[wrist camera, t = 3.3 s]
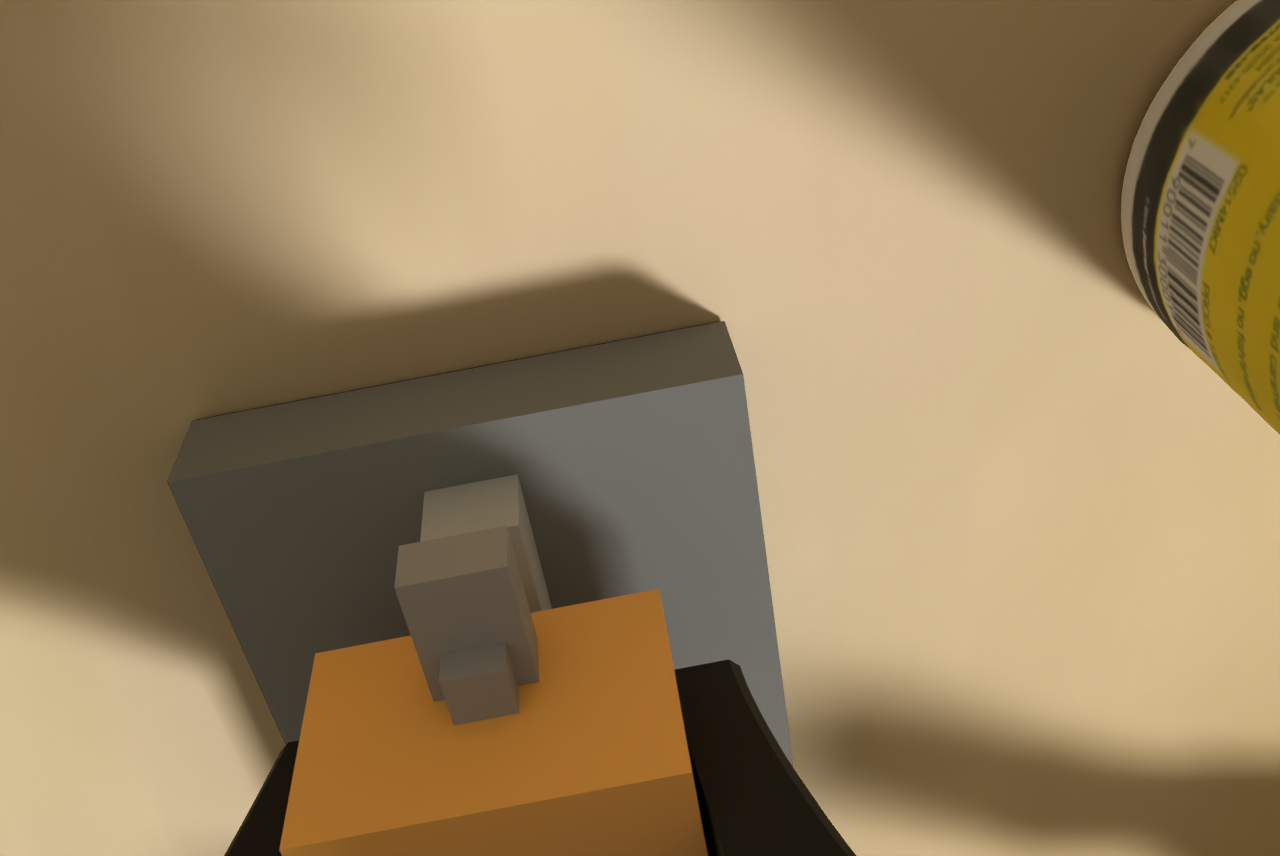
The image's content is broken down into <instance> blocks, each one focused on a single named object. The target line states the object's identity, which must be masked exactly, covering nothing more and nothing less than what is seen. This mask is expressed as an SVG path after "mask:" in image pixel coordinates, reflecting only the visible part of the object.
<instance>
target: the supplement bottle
mask: <svg viewBox="0 0 1280 856" xmlns="http://www.w3.org/2000/svg"><path fill="white" fill-rule="evenodd" d="M1121 228H1122V236H1123V244H1124V249H1125V253H1126V257H1127V261H1128V264H1129V266H1130V269H1131V272H1132V274H1133V277H1134V279H1135V281H1136V284H1137V286H1138V288H1139V290H1140V291H1141V293H1142V295H1143V297H1144V298H1145V300H1146V301H1147V303H1148V304H1149V305H1150V307H1151V308H1152V309H1153V311H1154V312H1155V313H1156V314H1157V316H1158V317H1159V318H1160V319H1161V320H1162V321H1163V322H1164V323H1165V324H1166V325H1167V326H1168V328H1169V329H1170V330H1171V331H1172V332H1173V333H1174V334H1175V336H1176V337H1177V338H1178V339H1179V340H1180V341H1181V342H1182V343H1183V344H1185V345H1186V346H1187V347H1188V348H1190V349H1191V350H1192V351H1193V352H1194V353H1195V354H1196V355H1197V356H1198V357H1199V358H1200V359H1201V360H1202V361H1204V362H1205V363H1206V364H1207V365H1208V366H1209V367H1210V368H1211V369H1212V370H1213V371H1214V372H1215V373H1216V374H1218V375H1219V376H1220V377H1221V378H1222V379H1223V380H1224V381H1225V382H1226V383H1227V384H1228V385H1229V386H1230V387H1231V388H1232V389H1233V390H1234V391H1235V392H1236V393H1238V394H1239V395H1240V396H1241V397H1242V398H1243V399H1244V400H1245V401H1246V402H1247V403H1248V404H1249V405H1250V406H1251V407H1252V408H1253V409H1254V410H1255V411H1256V412H1257V413H1258V414H1259V415H1260V416H1261V417H1262V418H1263V419H1264V420H1265V421H1266V422H1267V423H1268V424H1269V425H1270V426H1271V427H1272V428H1274V429H1275V430H1276V431H1277V432H1278V433H1279V434H1280V0H1237V1H1235V2H1234V3H1233V4H1232V5H1230V6H1229V7H1228V8H1227V9H1226V10H1225V11H1223V12H1222V13H1221V14H1220V15H1219V16H1218V17H1217V18H1216V19H1215V20H1214V21H1213V22H1212V23H1211V24H1210V25H1209V26H1208V27H1207V28H1206V29H1205V30H1204V31H1203V32H1202V33H1201V34H1200V36H1199V37H1198V38H1197V39H1196V40H1195V41H1194V43H1193V44H1192V45H1191V46H1190V48H1189V49H1188V50H1187V51H1186V52H1185V54H1184V55H1183V56H1182V57H1181V59H1180V60H1179V61H1178V63H1177V64H1176V65H1175V67H1174V68H1173V70H1172V71H1171V73H1170V74H1169V76H1168V77H1167V79H1166V80H1165V82H1164V83H1163V85H1162V86H1161V87H1160V89H1159V91H1158V93H1157V94H1156V96H1155V98H1154V99H1153V101H1152V103H1151V105H1150V107H1149V109H1148V110H1147V112H1146V114H1145V116H1144V118H1143V121H1142V123H1141V125H1140V128H1139V130H1138V133H1137V135H1136V137H1135V140H1134V142H1133V145H1132V149H1131V152H1130V156H1129V159H1128V163H1127V167H1126V172H1125V176H1124V182H1123V189H1122V198H1121Z"/></svg>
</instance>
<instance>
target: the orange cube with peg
mask: <svg viewBox="0 0 1280 856" xmlns="http://www.w3.org/2000/svg"><path fill="white" fill-rule="evenodd" d="M394 588H395V591H396V594H397V597H398V600H399V603H400V606H401V609H402V612H403V614H404V617H405V620H406V623H407V626H408V629H409V632H410V636H405V637H400V638H395V639H389V640H384V641H379V642H373V643H368V644H363V645H357V646H352V647H347V648H341V649H336V650H331V651H325V652H320V653H315V657H314V663H313V668H312V674H311V679H310V685H309V690H308V696H307V701H306V707H305V712H304V717H303V723H302V728H301V734H300V739H299V745H298V750H297V756H296V761H295V767H294V772H293V778H292V783H291V788H290V794H289V799H288V805H287V810H286V816H285V821H284V827H283V832H282V838H281V843H280V849H279V851H280V853H281V855H282V856H709V852H708V847H707V842H706V836H705V831H704V826H703V821H702V816H701V810H700V805H699V800H698V795H697V790H696V785H695V779H694V774H693V769H692V764H691V759H690V754H689V748H688V743H687V738H686V732H685V727H684V721H683V715H682V710H681V704H680V698H679V693H678V687H677V681H676V675H675V669H674V664H673V659H672V653H671V648H670V643H669V638H668V633H667V627H666V622H665V617H664V612H663V607H662V601H661V596H660V591H659V589H655V590H650V591H645V592H639V593H634V594H629V595H623V596H618V597H613V598H607V599H602V600H597V601H591V602H586V603H581V604H575V605H570V606H565V607H559V608H554V609H549V610H543V611H538V612H533V613H530V609H529V606H528V602H527V598H526V595H525V591H524V587H523V583H522V580H521V576H520V572H519V569H518V565H517V561H516V558H515V554H514V550H513V547H512V543H511V539H510V536H509V532H508V528H507V526H502V527H496V528H491V529H486V530H480V531H475V532H470V533H464V534H459V535H454V536H448V537H443V538H438V539H432V540H427V541H422V542H416V543H411V544H406V545H400V546H399V549H398V558H397V567H396V577H395V586H394Z"/></svg>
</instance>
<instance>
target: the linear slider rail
mask: <svg viewBox="0 0 1280 856" xmlns="http://www.w3.org/2000/svg"><path fill="white" fill-rule="evenodd" d="M168 485H169V487H170V489H171V491H172V493H173V496H174V498H175V500H176V502H177V505H178V507H179V509H180V511H181V513H182V516H183V518H184V520H185V522H186V524H187V527H188V529H189V531H190V533H191V536H192V538H193V540H194V542H195V544H196V547H197V549H198V551H199V553H200V556H201V558H202V560H203V562H204V564H205V567H206V569H207V571H208V573H209V576H210V578H211V580H212V582H213V584H214V587H215V589H216V591H217V593H218V596H219V598H220V600H221V602H222V604H223V607H224V609H225V611H226V613H227V615H228V618H229V620H230V622H231V624H232V627H233V629H234V631H235V633H236V635H237V638H238V640H239V642H240V644H241V647H242V649H243V651H244V653H245V655H246V658H247V660H248V662H249V664H250V667H251V669H252V671H253V673H254V675H255V678H256V680H257V682H258V684H259V687H260V689H261V691H262V693H263V695H264V698H265V700H266V702H267V704H268V706H269V709H270V711H271V713H272V715H273V718H274V720H275V722H276V724H277V726H278V729H279V731H280V733H281V735H282V738H283V740H284V742H285V744H287V743H288V742H292V741H297V740H299V739H300V734H301V728H302V723H303V717H304V712H305V707H306V701H307V696H308V690H309V685H310V679H311V674H312V668H313V663H314V657H315V653H320V652H325V651H331V650H336V649H341V648H347V647H352V646H357V645H363V644H368V643H373V642H379V641H384V640H389V639H395V638H400V637H405V636H410V632H409V629H408V626H407V623H406V620H405V617H404V614H403V612H402V609H401V606H400V603H399V600H398V597H397V594H396V591H395V588H394V586H395V577H396V567H397V558H398V549H399V546H400V545H406V544H411V543H416V542H422V541H427V540H432V539H438V538H443V537H448V536H454V535H459V534H464V533H470V532H475V531H480V530H486V529H491V528H496V527H502V526H507V528H508V532H509V536H510V539H511V543H512V547H513V550H514V554H515V558H516V561H517V565H518V569H519V572H520V576H521V580H522V583H523V587H524V591H525V595H526V598H527V602H528V606H529V609H530V613H533V612H538V611H543V610H549V609H554V608H559V607H565V606H570V605H575V604H581V603H586V602H591V601H597V600H602V599H607V598H613V597H618V596H623V595H629V594H634V593H639V592H645V591H650V590H655V589H659V591H660V596H661V601H662V607H663V612H664V617H665V622H666V627H667V633H668V638H669V643H670V648H671V653H672V659H673V664H674V669H680V668H685V667H691V666H696V665H701V664H707V663H712V662H717V661H723V660H728V659H729V660H731V661H733V662H734V663H736V664H738V665H740V667H741V670H742V673H743V676H744V678H745V681H746V683H747V685H748V687H749V690H750V692H751V694H752V696H753V698H754V700H755V702H756V704H757V706H758V708H759V710H760V712H761V714H762V716H763V718H764V720H765V721H766V723H767V725H768V727H769V729H770V730H771V732H772V734H773V735H774V737H775V739H776V740H777V742H778V744H779V746H780V747H781V749H782V751H783V752H784V754H785V756H786V757H787V759H788V760H789V762H790V763H791V765H792V767H793V762H792V754H791V746H790V738H789V730H788V722H787V715H786V707H785V699H784V691H783V683H782V676H781V668H780V660H779V652H778V644H777V636H776V629H775V621H774V613H773V605H772V597H771V589H770V582H769V574H768V566H767V558H766V550H765V542H764V535H763V527H762V519H761V511H760V503H759V496H758V488H757V480H756V472H755V464H754V456H753V449H752V441H751V433H750V425H749V417H748V409H747V402H746V394H745V386H744V378H743V373H742V370H741V367H740V364H739V361H738V359H737V356H736V353H735V350H734V347H733V344H732V341H731V339H730V336H729V333H728V330H727V327H726V324H725V322H724V321H722V322H717V323H712V324H706V325H701V326H696V327H690V328H685V329H680V330H674V331H669V332H664V333H658V334H653V335H648V336H642V337H637V338H632V339H626V340H621V341H616V342H610V343H605V344H600V345H594V346H589V347H584V348H578V349H573V350H568V351H562V352H557V353H552V354H546V355H541V356H536V357H530V358H525V359H520V360H514V361H509V362H504V363H498V364H493V365H488V366H482V367H477V368H472V369H466V370H461V371H456V372H450V373H445V374H440V375H434V376H429V377H424V378H418V379H413V380H408V381H402V382H397V383H392V384H386V385H381V386H376V387H370V388H365V389H360V390H354V391H349V392H344V393H338V394H333V395H328V396H322V397H317V398H312V399H306V400H301V401H296V402H290V403H285V404H280V405H274V406H269V407H264V408H258V409H253V410H248V411H242V412H237V413H232V414H226V415H221V416H216V417H210V418H205V419H200V420H194V421H192V422H191V425H190V427H189V430H188V432H187V435H186V437H185V440H184V442H183V445H182V447H181V450H180V452H179V455H178V457H177V459H176V462H175V464H174V467H173V469H172V472H171V474H170V477H169V479H168Z"/></svg>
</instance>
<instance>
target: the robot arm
mask: <svg viewBox="0 0 1280 856" xmlns="http://www.w3.org/2000/svg"><path fill="white" fill-rule="evenodd" d="M675 675H676V681H677V687H678V693H679V698H680V704H681V710H682V715H683V721H684V727H685V732H686V738H687V743H688V748H689V754H690V759H691V764H692V769H693V774H694V779H695V785H696V790H697V795H698V800H699V805H700V810H701V816H702V821H703V826H704V831H705V836H706V842H707V847H708V852H709V856H856V855H855V853H854V852H853V851H852V850H851V848H850V847H849V846H848V845H847V843H846V842H845V841H844V839H843V838H842V837H841V835H840V834H839V833H838V831H837V830H836V829H835V827H834V826H833V824H832V823H831V822H830V820H829V819H828V818H827V816H826V815H825V813H824V812H823V811H822V809H821V808H820V806H819V805H818V803H817V802H816V800H815V799H814V797H813V796H812V795H811V793H810V792H809V790H808V789H807V787H806V786H805V784H804V783H803V782H802V780H801V779H800V777H799V776H798V774H797V773H796V771H795V770H794V768H793V767H792V765H791V763H790V762H789V760H788V759H787V757H786V756H785V754H784V752H783V751H782V749H781V747H780V746H779V744H778V742H777V740H776V739H775V737H774V735H773V734H772V732H771V730H770V729H769V727H768V725H767V723H766V721H765V720H764V718H763V716H762V714H761V712H760V710H759V708H758V706H757V704H756V702H755V700H754V698H753V696H752V694H751V692H750V690H749V687H748V685H747V683H746V681H745V678H744V676H743V673H742V670H741V667H740V665H738V664H736V663H734V662H733V661H731V660H729V659H728V660H723V661H717V662H712V663H707V664H701V665H696V666H691V667H685V668H680V669H675ZM298 745H299V740H297V741H292V742H288V743H287V744H286V746H285V747H284V748H283V750H282V751H281V753H280V754H279V756H278V758H277V760H276V762H275V764H274V766H273V767H272V769H271V771H270V773H269V775H268V777H267V779H266V780H265V782H264V784H263V786H262V788H261V790H260V792H259V794H258V795H257V797H256V799H255V801H254V803H253V805H252V807H251V808H250V810H249V812H248V814H247V816H246V818H245V819H244V821H243V823H242V825H241V827H240V828H239V830H238V832H237V834H236V836H235V837H234V839H233V841H232V843H231V845H230V846H229V848H228V850H227V852H226V853H225V855H224V856H282V855H281V853H280V851H279V849H280V843H281V838H282V832H283V827H284V821H285V816H286V810H287V805H288V799H289V794H290V788H291V783H292V778H293V772H294V767H295V761H296V756H297V750H298Z"/></svg>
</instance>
